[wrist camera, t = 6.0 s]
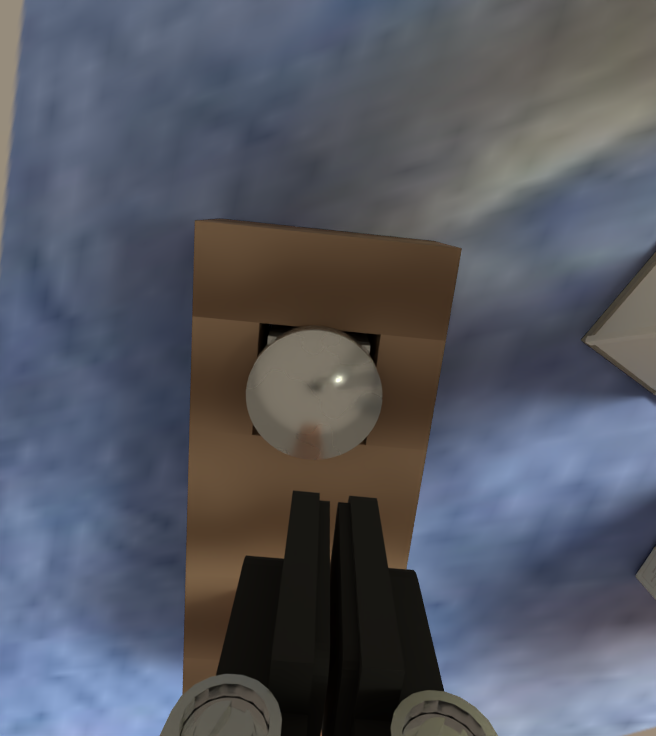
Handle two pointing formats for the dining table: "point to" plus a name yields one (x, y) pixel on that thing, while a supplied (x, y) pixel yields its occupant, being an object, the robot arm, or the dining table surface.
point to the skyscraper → (630, 329)
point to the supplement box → (649, 573)
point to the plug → (314, 391)
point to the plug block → (229, 408)
